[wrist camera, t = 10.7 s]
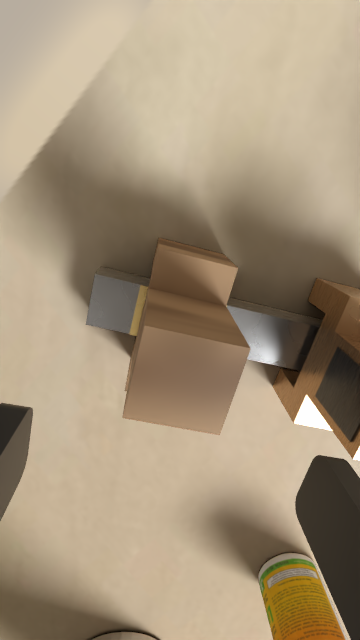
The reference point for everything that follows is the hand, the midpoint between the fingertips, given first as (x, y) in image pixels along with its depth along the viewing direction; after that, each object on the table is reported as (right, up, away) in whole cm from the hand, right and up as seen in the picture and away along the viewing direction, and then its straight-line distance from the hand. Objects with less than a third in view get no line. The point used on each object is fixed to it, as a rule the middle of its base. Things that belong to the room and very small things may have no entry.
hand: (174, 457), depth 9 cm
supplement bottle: (+10, -19, +22) cm, 30 cm away
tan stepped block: (0, +5, +12) cm, 13 cm away
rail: (+5, +3, +13) cm, 14 cm away
